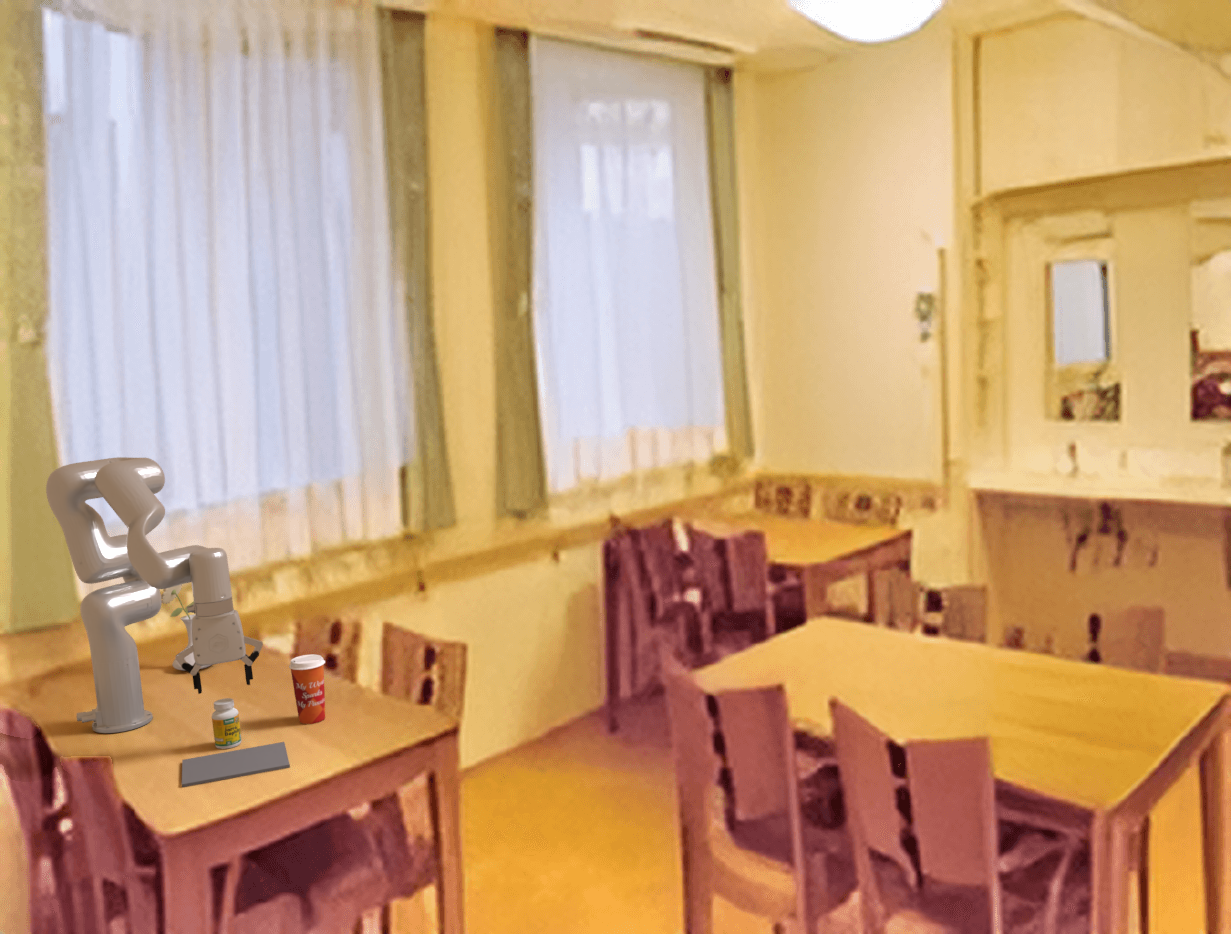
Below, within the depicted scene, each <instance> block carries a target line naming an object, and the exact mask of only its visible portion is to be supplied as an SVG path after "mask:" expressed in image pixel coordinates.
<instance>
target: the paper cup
mask: <svg viewBox="0 0 1231 934" xmlns="http://www.w3.org/2000/svg"><path fill="white" fill-rule="evenodd" d="M324 664H326V660H324V657H322V655H320V654H313V653H312V654H303V655H299V656H296V657H294V658H291V659H290V663H289V666H288V668H289V670H290V673H291V680H292V685H293V692H294V698H295V704H296V710H297V715H298V721H299V724H302V725H313V724H318V723H320V722H322V721H325V720H326V694H325V693H326V691H325V673H324V672H325V671H324V670H325V669H324Z"/></svg>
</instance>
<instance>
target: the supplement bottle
mask: <svg viewBox="0 0 1231 934" xmlns="http://www.w3.org/2000/svg"><path fill="white" fill-rule="evenodd" d="M213 709H214V711H213V712H212V714H211V722H212V729H213V739H214V745H215V748H217V749H219V750H229V749H231V748H232V749H233V748H237V746H239V745H241V743H242V733H241V724H240V713H239V710H238V709H237V708H235V701H234V698H231V697H228V698H221V699H218V700H215V701H213Z"/></svg>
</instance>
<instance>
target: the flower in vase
mask: <svg viewBox="0 0 1231 934" xmlns="http://www.w3.org/2000/svg"><path fill="white" fill-rule="evenodd" d="M182 587H183V584H181V585H177V586H174V587H170V588H166V589H162V591H163V592H162V593H161V600H162V604H163V605H164V604H165V605H167V604H170V603H171V602H172V601H174V599H176V598H177V599H178V601H179V603H180V605H181V607H177V608H175V609H174V610H173V611H172V613H171V615H170V617H171V618H173V617H174V618H175V617H178V616H180V615H181V613H182V612H183V611H184V613H185V614H186V615H183V616H181V617H179V618H180V620H181V621H182V623H183V624H184V625H185V629H186V631H187V638H188V639H187V641H188V642H187V645H186V647H184V649H183V650H185V649H186V648H187V647H189V646H190V645H192V618H193V617H194V616H196V614H194V613H193V614H190V613H188V610H187V606H191V605H193V604H194V600H193V601H191V603H189V604H188V605H187V606H185V607H184V606H183V605H184V604H183V603H182V601H181V598H180V596H179V594H180V592H181V590H182ZM184 659H185V661H186V662H187V663H189V664H190V665H192V666H193V665H194V663H195V660H194V654H193V652H192V653H191V654H189V655H188V656H186V657H185V658H184ZM211 666H212V665H206V666H201V668H200V669H199V670H201V669H205V668H208V667H211ZM172 667H173V669H175V670H179V671H186V670H184V669H183V668H182V667H181V665H180V664H179V663H178V662H177V660H176V659H174V660H173V662H172ZM186 672H187V671H186Z"/></svg>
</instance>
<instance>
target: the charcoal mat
mask: <svg viewBox="0 0 1231 934" xmlns="http://www.w3.org/2000/svg"><path fill="white" fill-rule="evenodd" d="M288 756H289V755H288V752H287V747H286V743H285V741H282V742H276V743H269V744H264V745H263V744H262V745H258V746H253V747H247V748H241V749H237V750H236V749H235V750H230V751H224V752H219V753H212V754H207V755H203V756H202V755H201V756H196V757H195V756H194V757H190V758H185V759H182V761H181V764H182V765H181V788H188V787H192V786H196V785H204V784H208V783H212V782H213V783H214V782H219V781H225V780H228V779H229V780H230V779H234V778H240V777H245V776H252V775H256V774H261V773H268V772H273V771H279V770H283V769H288V768H291V766H290V760H289V757H288Z"/></svg>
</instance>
